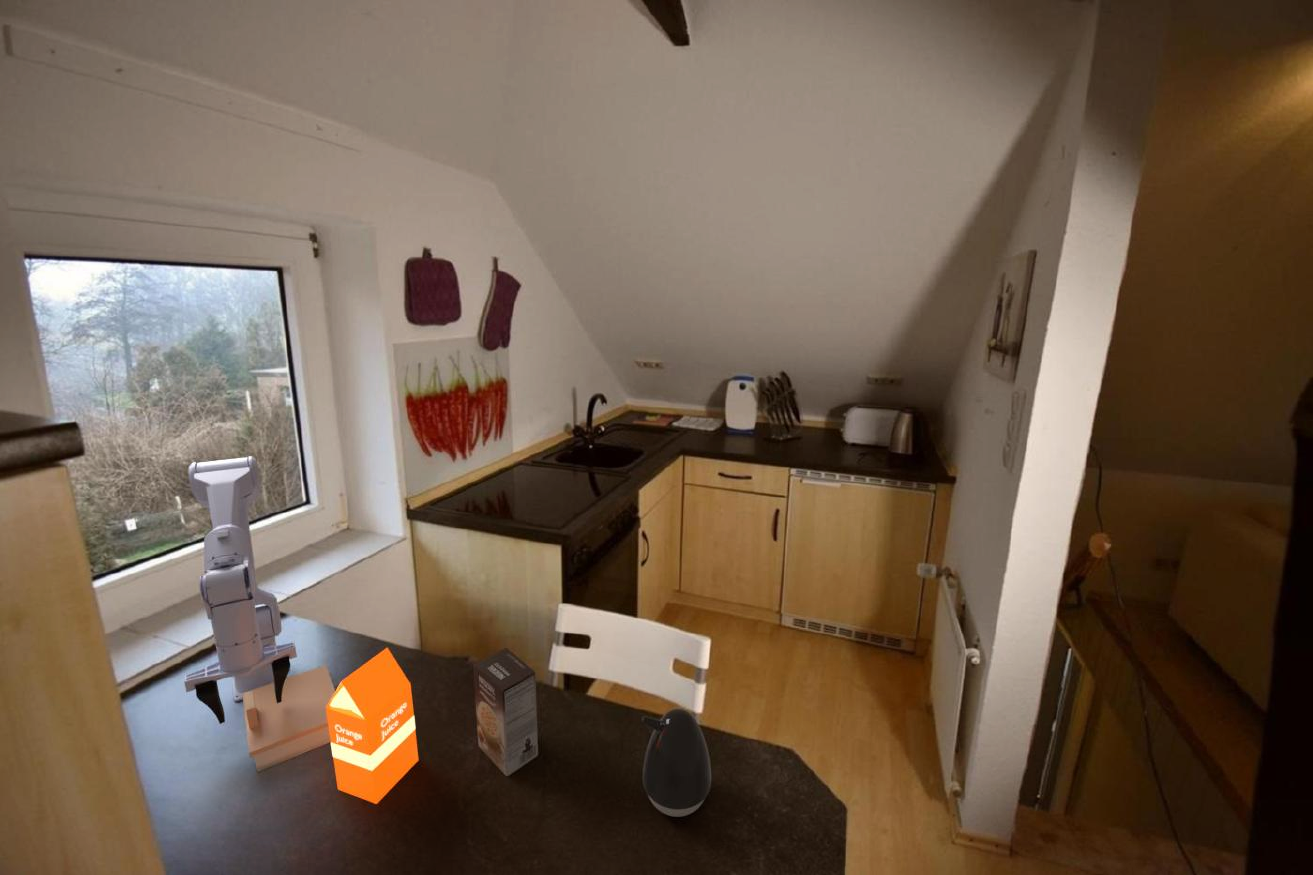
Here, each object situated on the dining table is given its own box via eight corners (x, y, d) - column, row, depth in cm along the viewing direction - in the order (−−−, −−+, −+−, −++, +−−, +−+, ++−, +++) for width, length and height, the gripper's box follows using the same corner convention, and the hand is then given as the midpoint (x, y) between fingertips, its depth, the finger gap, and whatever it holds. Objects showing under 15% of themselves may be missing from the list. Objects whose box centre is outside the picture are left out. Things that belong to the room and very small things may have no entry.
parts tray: (249, 714, 100) (246, 697, 99) (326, 686, 107) (323, 671, 107) (257, 772, 88) (253, 753, 87) (342, 737, 95) (340, 719, 95)
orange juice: (419, 760, 91) (408, 651, 86) (376, 804, 83) (361, 688, 78) (381, 747, 93) (368, 641, 89) (336, 789, 85) (319, 675, 80)
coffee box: (476, 747, 94) (470, 663, 90) (509, 726, 98) (505, 646, 94) (506, 778, 88) (501, 690, 84) (540, 755, 92) (537, 670, 88)
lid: (243, 699, 100) (239, 676, 98) (326, 670, 107) (323, 648, 106) (250, 760, 87) (245, 733, 86) (344, 722, 95) (341, 698, 93)
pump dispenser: (642, 770, 90) (643, 688, 86) (707, 772, 89) (711, 690, 86) (638, 828, 80) (639, 738, 76) (712, 831, 79) (716, 741, 76)
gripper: (178, 666, 82) (194, 744, 85) (294, 632, 91) (305, 703, 94) (179, 643, 88) (195, 717, 91) (288, 613, 96) (299, 681, 100)
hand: (251, 709), depth 93 cm, fingers open, 7 cm apart
